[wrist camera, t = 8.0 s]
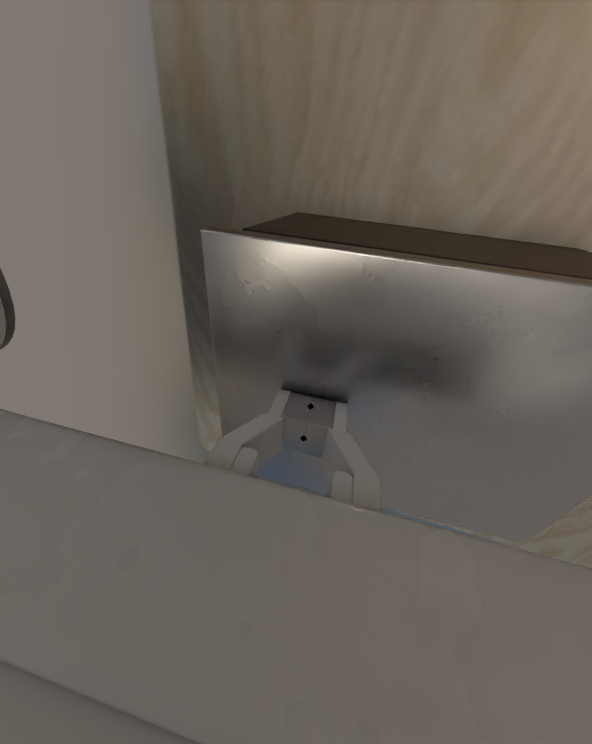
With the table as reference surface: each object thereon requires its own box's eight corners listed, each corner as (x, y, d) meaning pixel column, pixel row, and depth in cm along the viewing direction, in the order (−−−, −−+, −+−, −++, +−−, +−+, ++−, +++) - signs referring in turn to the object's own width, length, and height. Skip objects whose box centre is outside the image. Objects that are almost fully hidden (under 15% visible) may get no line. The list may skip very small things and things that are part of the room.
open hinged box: (283, 376, 23) (246, 456, 16) (296, 212, 16) (240, 228, 9) (467, 415, 21) (516, 526, 14) (579, 249, 14) (794, 307, 7)
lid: (230, 456, 16) (225, 467, 16) (211, 225, 9) (198, 228, 8) (516, 527, 14) (524, 544, 14) (796, 308, 7) (843, 321, 6)
